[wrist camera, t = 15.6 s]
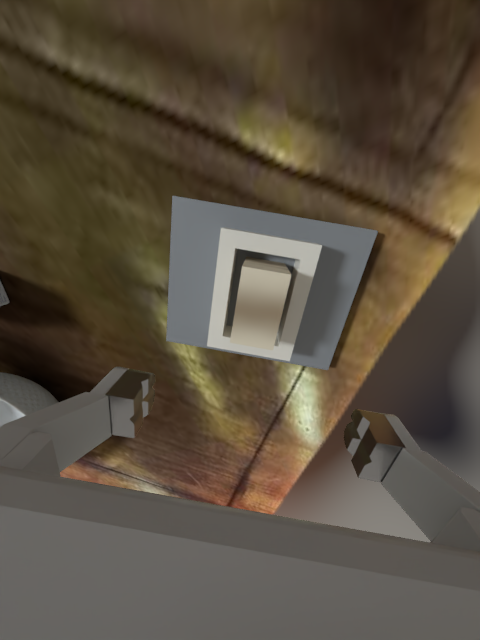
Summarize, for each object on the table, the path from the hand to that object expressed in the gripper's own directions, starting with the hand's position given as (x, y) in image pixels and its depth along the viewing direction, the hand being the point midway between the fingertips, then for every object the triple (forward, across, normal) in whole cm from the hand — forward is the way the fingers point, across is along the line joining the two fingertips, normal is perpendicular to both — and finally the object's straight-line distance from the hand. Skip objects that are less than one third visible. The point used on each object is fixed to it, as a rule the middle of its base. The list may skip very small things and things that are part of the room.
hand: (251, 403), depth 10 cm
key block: (+17, 0, 0) cm, 17 cm away
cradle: (+19, 0, 0) cm, 19 cm away
